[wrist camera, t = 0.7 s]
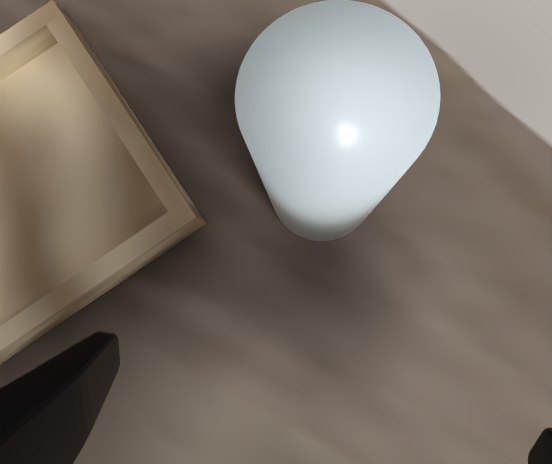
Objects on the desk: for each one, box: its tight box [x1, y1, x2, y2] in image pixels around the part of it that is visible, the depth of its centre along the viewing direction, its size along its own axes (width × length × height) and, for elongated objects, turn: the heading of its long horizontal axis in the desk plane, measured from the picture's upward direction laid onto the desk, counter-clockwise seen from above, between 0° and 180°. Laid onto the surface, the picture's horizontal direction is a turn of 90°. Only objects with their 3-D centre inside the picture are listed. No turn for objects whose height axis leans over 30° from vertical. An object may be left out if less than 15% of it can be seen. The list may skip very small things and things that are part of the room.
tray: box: [0, 0, 207, 364], centre depth 24 cm, size 16×14×2 cm
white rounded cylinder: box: [235, 0, 440, 241], centre depth 18 cm, size 5×5×12 cm
